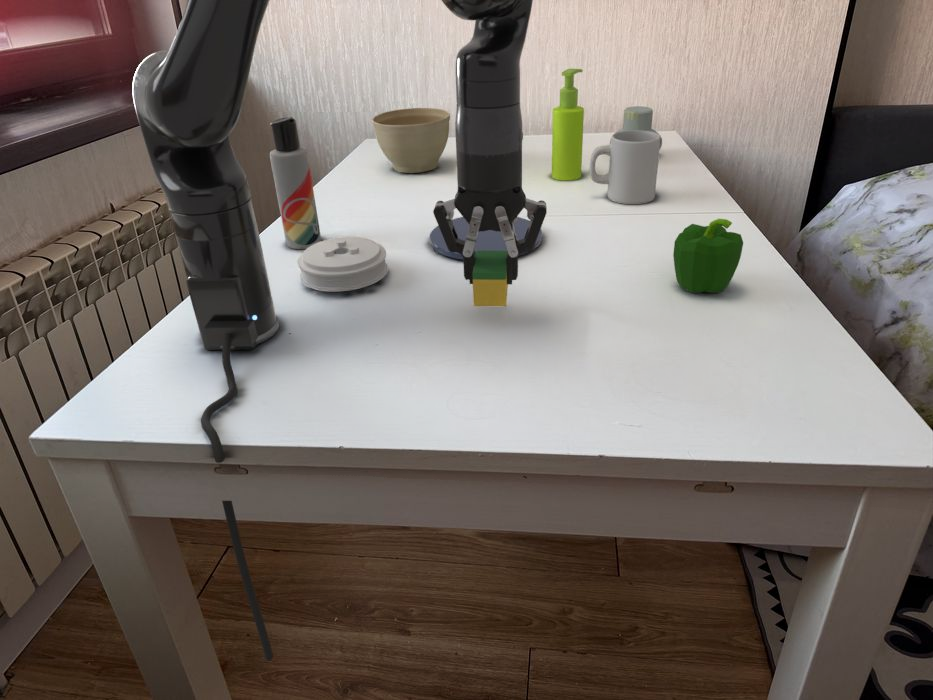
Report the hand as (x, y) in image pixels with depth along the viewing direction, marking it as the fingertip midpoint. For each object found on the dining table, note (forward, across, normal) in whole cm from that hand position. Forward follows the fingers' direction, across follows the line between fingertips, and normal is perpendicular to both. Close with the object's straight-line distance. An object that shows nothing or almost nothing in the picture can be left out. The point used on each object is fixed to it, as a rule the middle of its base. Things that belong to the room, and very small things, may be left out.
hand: (491, 281), depth 87 cm
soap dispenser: (+4, +12, +60) cm, 61 cm away
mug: (+4, +21, +46) cm, 51 cm away
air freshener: (+4, +27, +72) cm, 77 cm away
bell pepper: (+5, +28, +8) cm, 30 cm away
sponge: (+2, 0, 0) cm, 2 cm away
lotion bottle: (+5, -32, +25) cm, 41 cm away
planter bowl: (+5, -20, +67) cm, 71 cm away
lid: (+5, -22, +11) cm, 25 cm away
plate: (+5, -2, +26) cm, 26 cm away
